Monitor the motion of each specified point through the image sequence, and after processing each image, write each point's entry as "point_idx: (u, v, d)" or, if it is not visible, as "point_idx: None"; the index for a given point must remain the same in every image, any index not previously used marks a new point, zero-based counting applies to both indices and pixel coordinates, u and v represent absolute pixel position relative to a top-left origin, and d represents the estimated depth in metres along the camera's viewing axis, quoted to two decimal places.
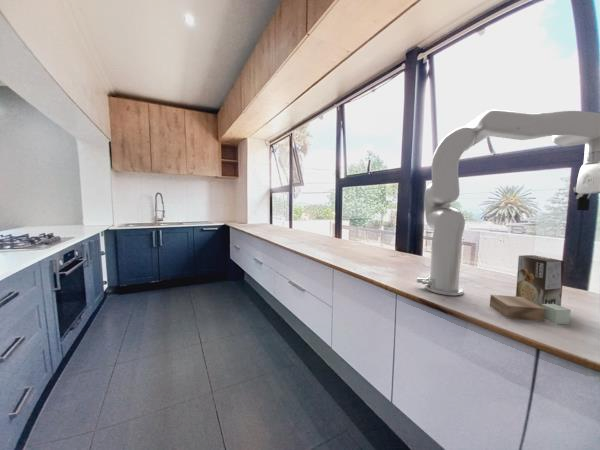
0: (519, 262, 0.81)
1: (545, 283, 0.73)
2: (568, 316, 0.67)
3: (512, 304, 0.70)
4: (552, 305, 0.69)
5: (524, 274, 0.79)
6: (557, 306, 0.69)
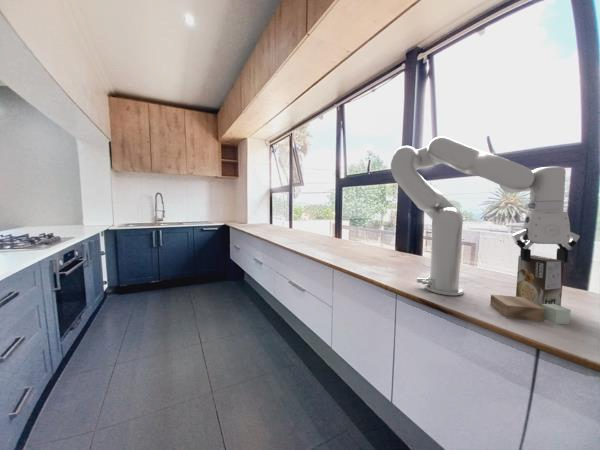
0: (519, 262, 0.81)
1: (545, 283, 0.73)
2: (568, 316, 0.67)
3: (512, 304, 0.70)
4: (552, 305, 0.69)
5: (524, 274, 0.79)
6: (556, 306, 0.69)
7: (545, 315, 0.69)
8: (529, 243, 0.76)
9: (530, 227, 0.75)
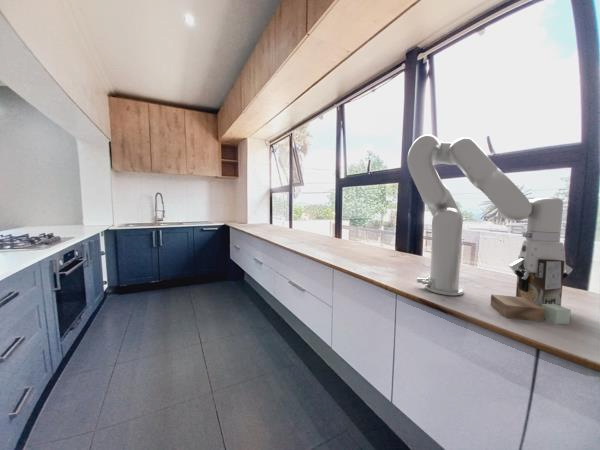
0: None
1: (545, 283, 0.73)
2: (568, 316, 0.67)
3: (511, 304, 0.71)
4: (553, 305, 0.69)
5: None
6: (557, 306, 0.69)
7: (545, 315, 0.69)
8: (527, 273, 0.77)
9: (526, 256, 0.76)
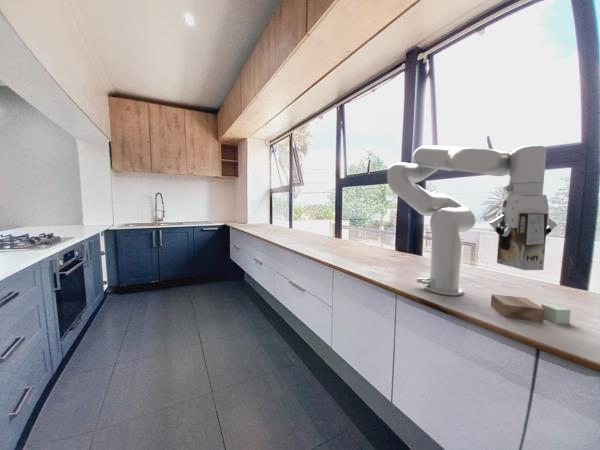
0: None
1: (527, 237, 0.67)
2: (568, 316, 0.67)
3: (511, 304, 0.71)
4: (553, 305, 0.69)
5: None
6: (556, 306, 0.69)
7: (545, 315, 0.69)
8: (507, 230, 0.71)
9: (507, 211, 0.70)
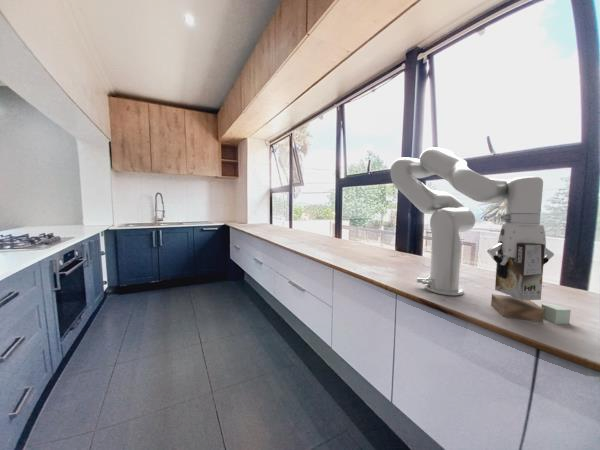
0: None
1: (524, 268, 0.68)
2: (568, 316, 0.67)
3: (510, 303, 0.71)
4: (553, 305, 0.69)
5: None
6: (557, 306, 0.69)
7: (545, 315, 0.69)
8: (505, 259, 0.72)
9: (504, 240, 0.71)
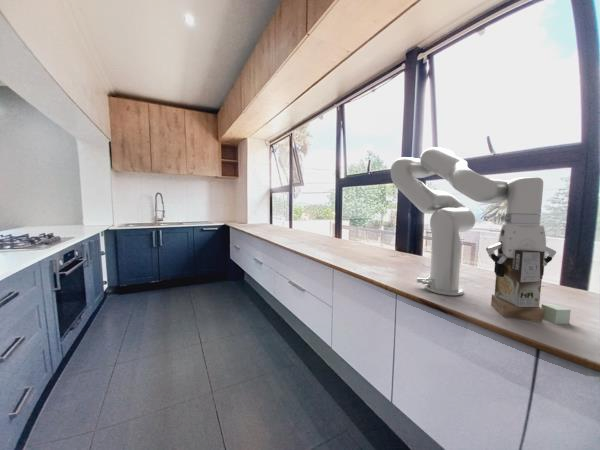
0: None
1: (521, 275, 0.68)
2: (568, 316, 0.67)
3: (510, 304, 0.71)
4: (553, 305, 0.69)
5: None
6: (557, 306, 0.69)
7: (545, 315, 0.69)
8: (503, 258, 0.72)
9: (505, 241, 0.71)
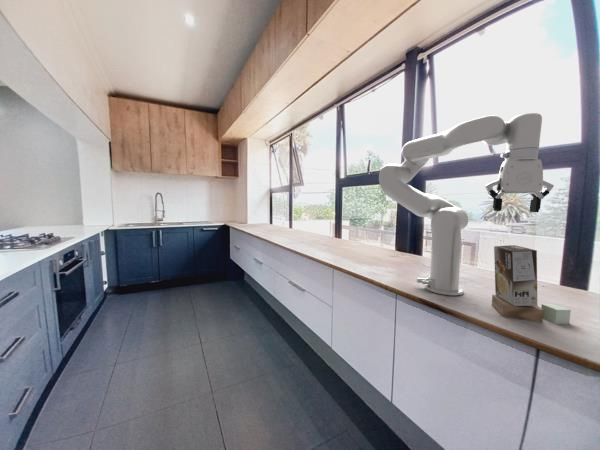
0: (494, 253, 0.77)
1: (513, 274, 0.69)
2: (568, 316, 0.67)
3: (509, 304, 0.71)
4: (553, 305, 0.69)
5: (498, 266, 0.75)
6: (557, 306, 0.69)
7: (545, 315, 0.69)
8: (501, 192, 0.76)
9: (503, 176, 0.75)
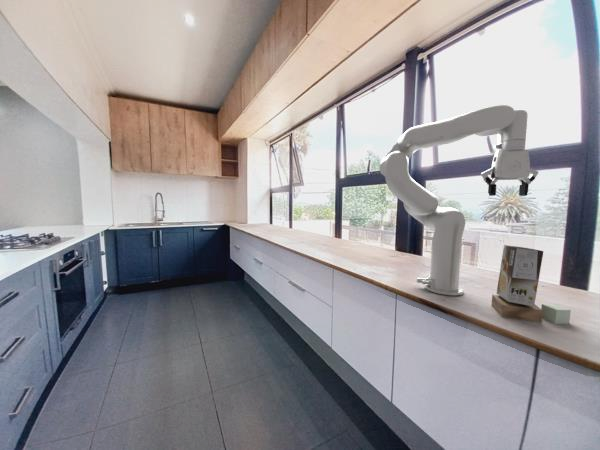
0: (503, 252, 0.77)
1: (513, 270, 0.69)
2: (568, 316, 0.67)
3: (508, 304, 0.71)
4: (553, 305, 0.69)
5: (503, 264, 0.75)
6: (557, 306, 0.69)
7: (545, 315, 0.69)
8: (495, 179, 0.87)
9: (496, 164, 0.86)
